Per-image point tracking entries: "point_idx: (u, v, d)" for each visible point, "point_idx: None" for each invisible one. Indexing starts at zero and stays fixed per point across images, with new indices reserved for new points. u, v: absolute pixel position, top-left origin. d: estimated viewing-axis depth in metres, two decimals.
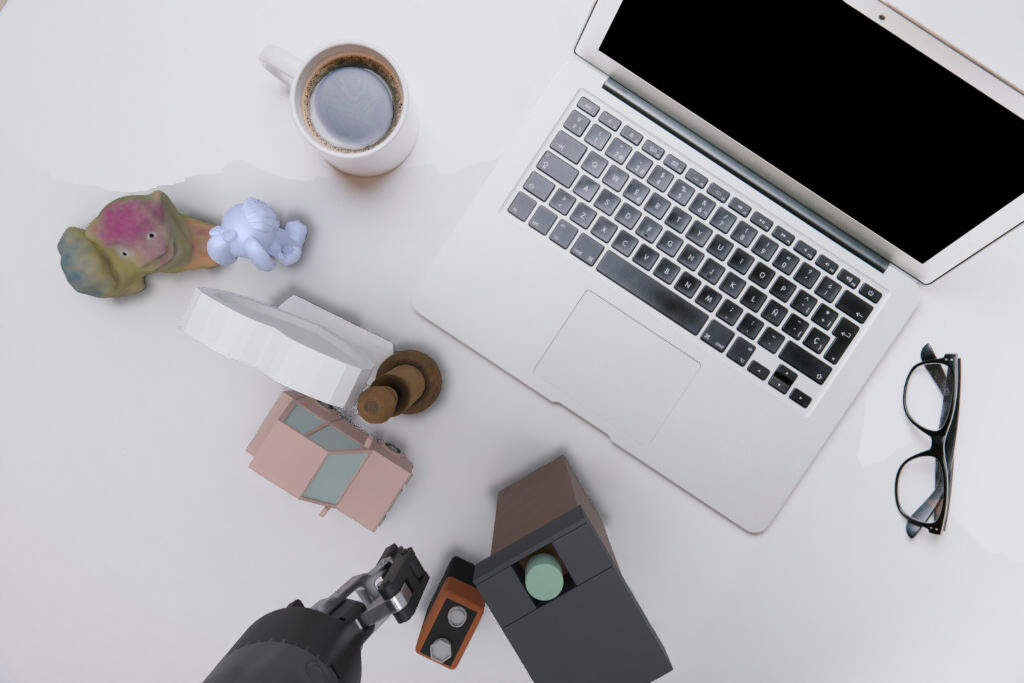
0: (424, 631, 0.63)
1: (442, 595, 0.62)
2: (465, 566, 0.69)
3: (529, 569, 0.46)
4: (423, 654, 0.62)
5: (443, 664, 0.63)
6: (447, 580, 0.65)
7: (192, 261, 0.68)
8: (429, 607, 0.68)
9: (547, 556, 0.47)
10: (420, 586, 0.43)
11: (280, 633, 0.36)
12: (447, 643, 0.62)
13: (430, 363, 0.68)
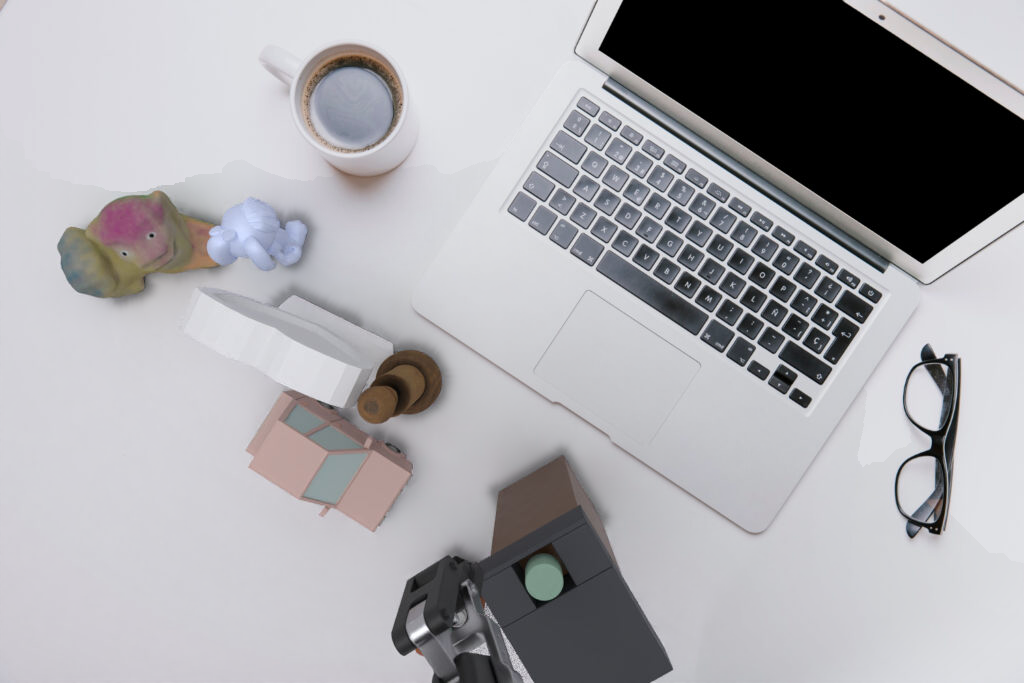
0: None
1: None
2: None
3: (529, 569, 0.46)
4: None
5: None
6: None
7: (192, 261, 0.68)
8: None
9: (547, 556, 0.47)
10: None
11: None
12: None
13: (430, 363, 0.68)
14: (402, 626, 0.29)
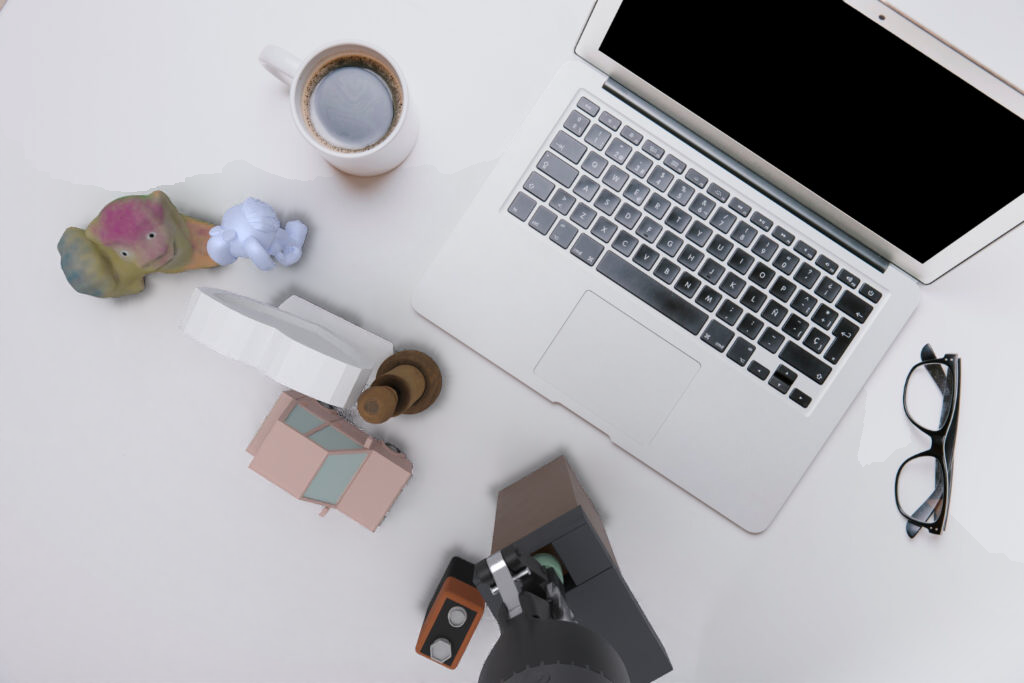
0: (424, 631, 0.63)
1: (442, 595, 0.62)
2: (465, 566, 0.69)
3: None
4: (423, 654, 0.62)
5: (443, 664, 0.63)
6: (447, 580, 0.65)
7: (192, 261, 0.68)
8: (429, 607, 0.68)
9: (547, 556, 0.47)
10: None
11: None
12: (447, 643, 0.62)
13: (430, 363, 0.68)
14: None
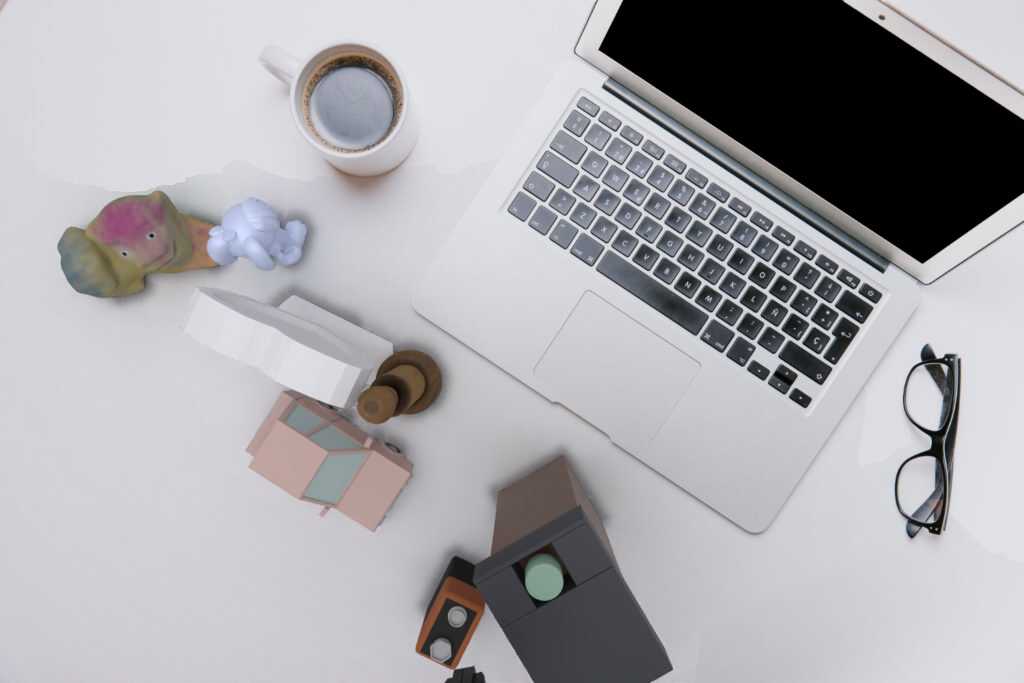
0: (424, 631, 0.63)
1: (442, 595, 0.62)
2: (465, 566, 0.69)
3: (529, 569, 0.46)
4: (423, 654, 0.62)
5: (443, 664, 0.63)
6: (447, 580, 0.65)
7: (192, 261, 0.68)
8: (429, 607, 0.68)
9: (547, 556, 0.47)
10: None
11: None
12: (447, 643, 0.62)
13: (430, 363, 0.68)
14: None
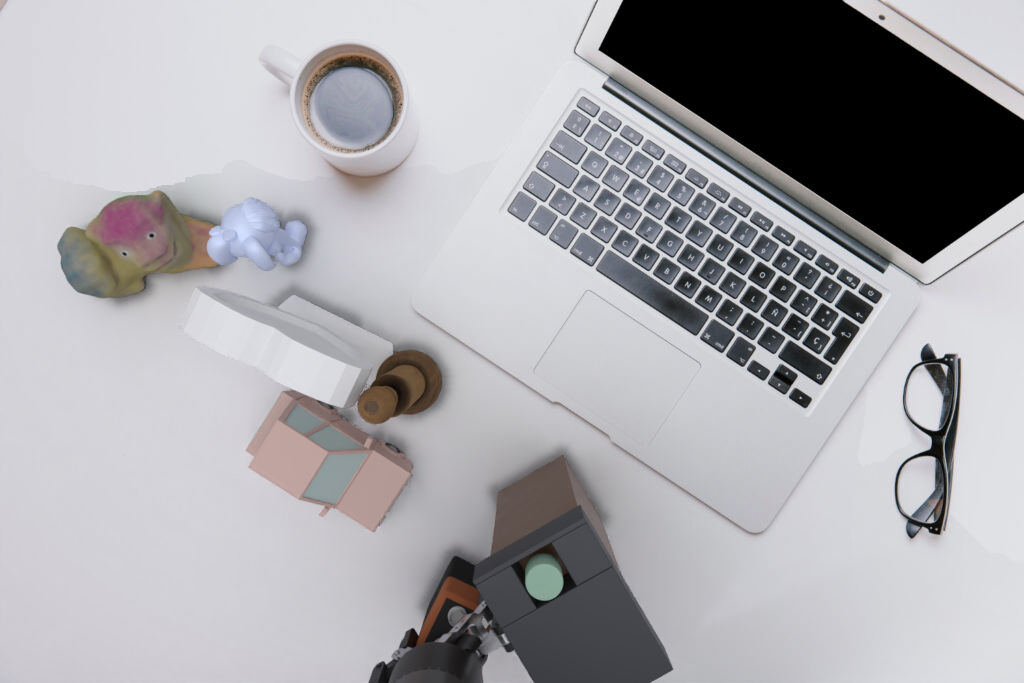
0: (424, 631, 0.63)
1: (442, 595, 0.62)
2: (465, 566, 0.69)
3: (529, 569, 0.46)
4: None
5: None
6: (447, 580, 0.65)
7: (192, 261, 0.68)
8: (429, 607, 0.68)
9: (547, 556, 0.47)
10: None
11: (434, 663, 0.50)
12: None
13: (430, 363, 0.68)
14: None
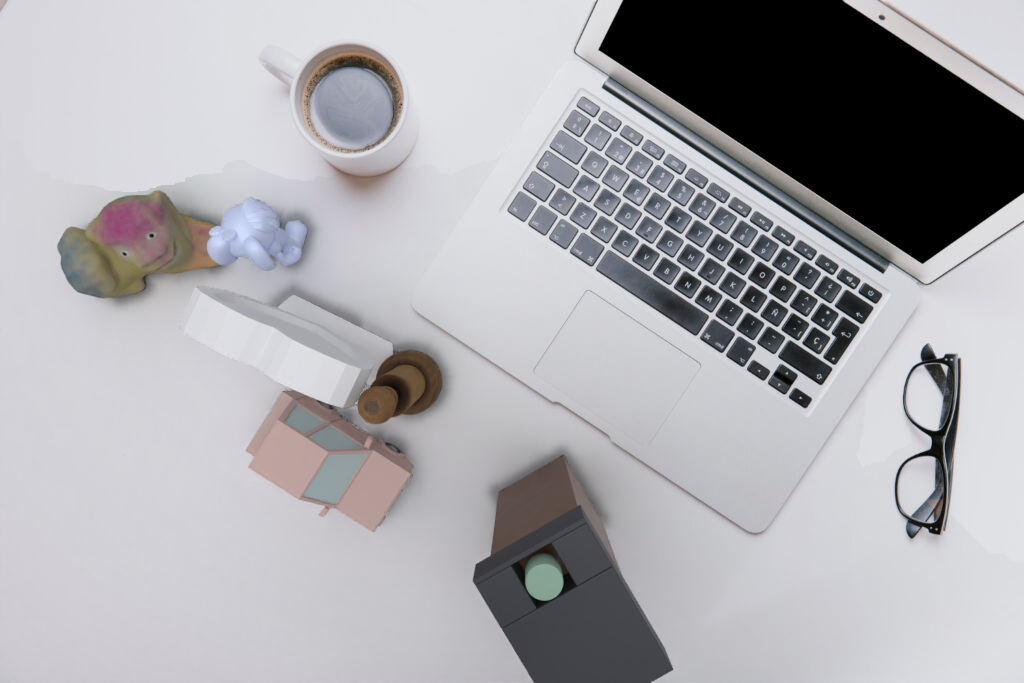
0: None
1: None
2: None
3: (529, 569, 0.46)
4: None
5: None
6: None
7: (192, 261, 0.68)
8: None
9: (547, 556, 0.47)
10: None
11: None
12: None
13: (430, 363, 0.68)
14: None
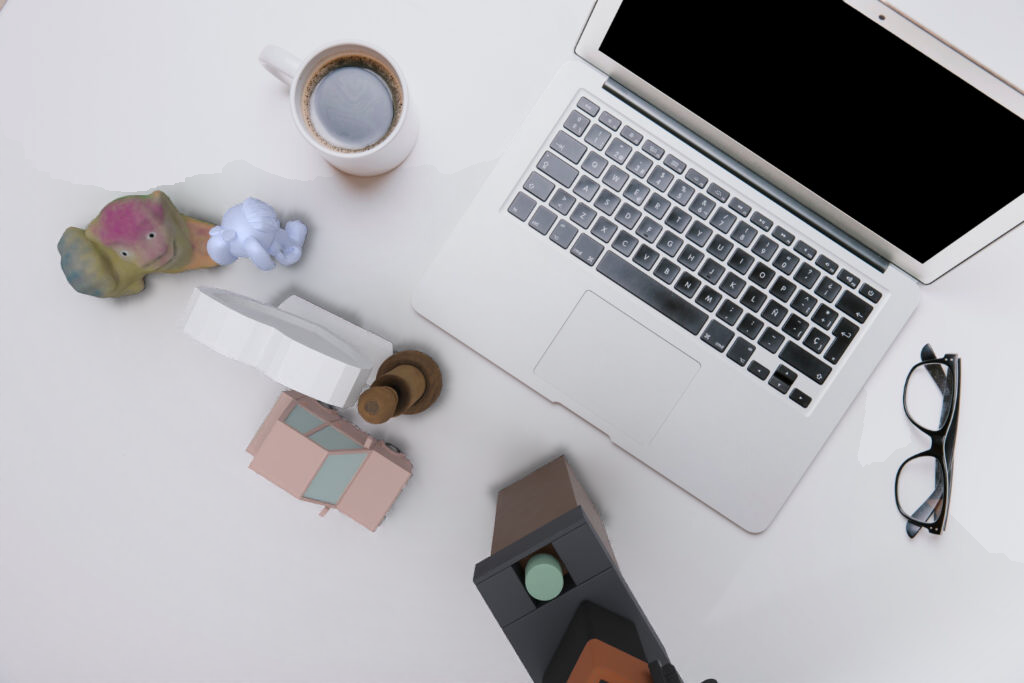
0: None
1: (593, 674, 0.38)
2: (604, 617, 0.45)
3: (529, 569, 0.46)
4: None
5: None
6: (592, 646, 0.40)
7: (192, 261, 0.68)
8: None
9: (547, 556, 0.47)
10: None
11: None
12: None
13: (430, 363, 0.68)
14: None
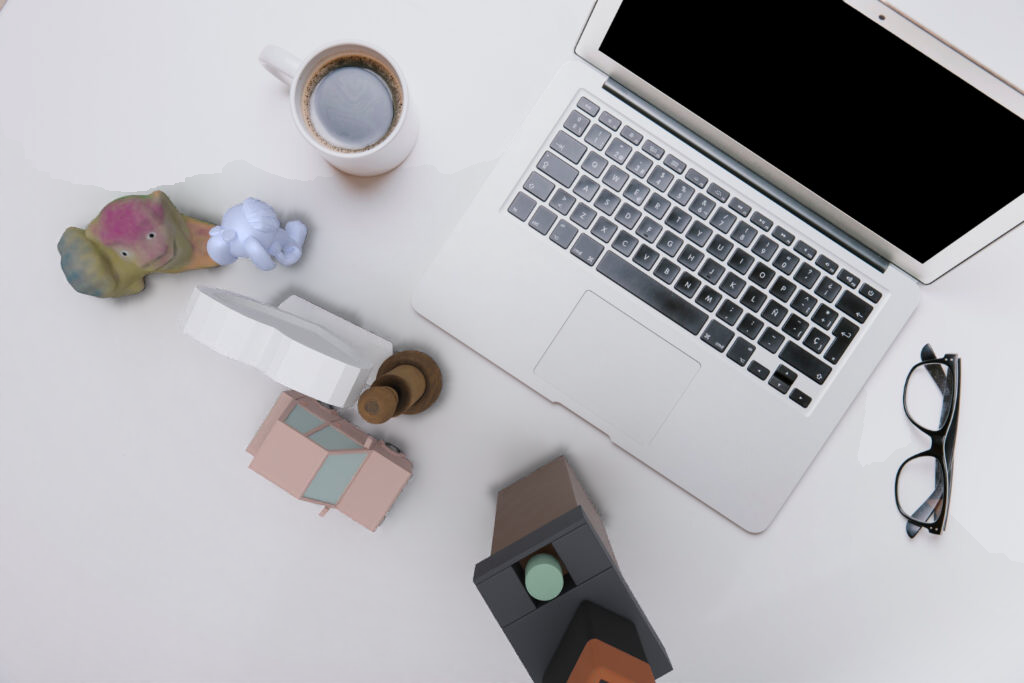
0: None
1: (593, 674, 0.38)
2: (604, 617, 0.45)
3: (529, 569, 0.46)
4: None
5: None
6: (592, 646, 0.40)
7: (192, 261, 0.68)
8: None
9: (547, 556, 0.47)
10: None
11: None
12: None
13: (430, 363, 0.68)
14: None
